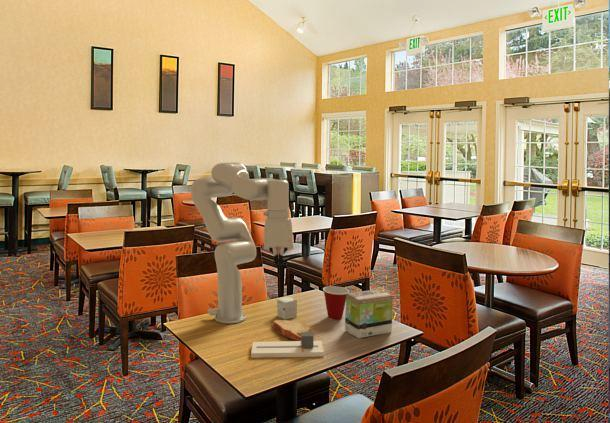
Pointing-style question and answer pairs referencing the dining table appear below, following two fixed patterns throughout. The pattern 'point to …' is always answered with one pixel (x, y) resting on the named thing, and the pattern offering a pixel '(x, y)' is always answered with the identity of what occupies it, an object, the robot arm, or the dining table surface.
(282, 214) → the robot arm
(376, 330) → the tea box
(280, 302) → the skincare box
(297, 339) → the bread slice
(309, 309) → the dining table surface
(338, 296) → the plastic cup
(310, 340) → the slider tab
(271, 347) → the console board
